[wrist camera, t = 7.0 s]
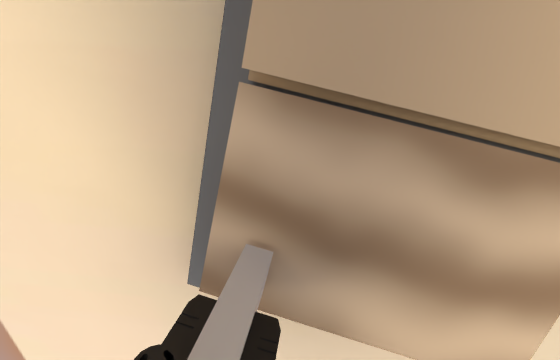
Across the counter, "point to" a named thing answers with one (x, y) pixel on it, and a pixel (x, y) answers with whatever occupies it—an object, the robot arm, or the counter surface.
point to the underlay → (393, 72)
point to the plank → (389, 230)
